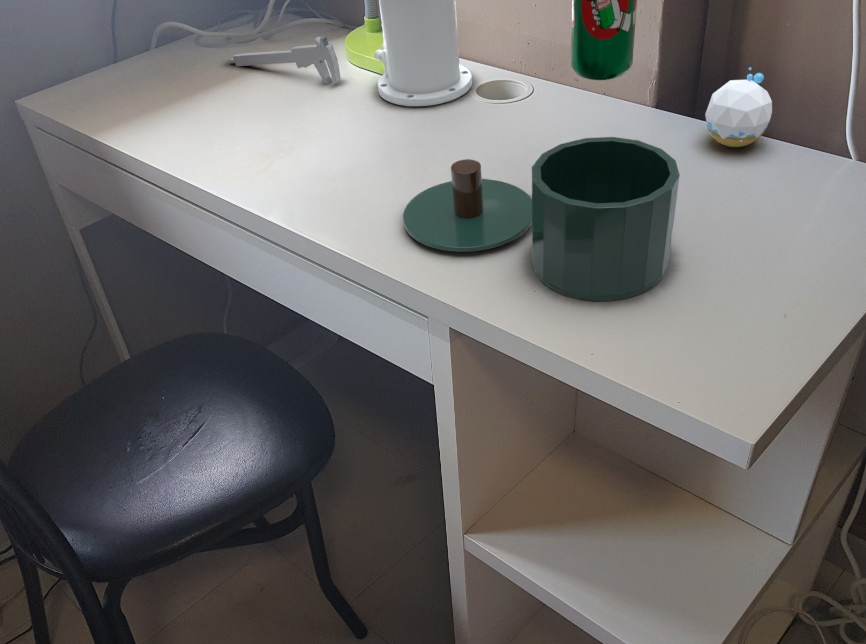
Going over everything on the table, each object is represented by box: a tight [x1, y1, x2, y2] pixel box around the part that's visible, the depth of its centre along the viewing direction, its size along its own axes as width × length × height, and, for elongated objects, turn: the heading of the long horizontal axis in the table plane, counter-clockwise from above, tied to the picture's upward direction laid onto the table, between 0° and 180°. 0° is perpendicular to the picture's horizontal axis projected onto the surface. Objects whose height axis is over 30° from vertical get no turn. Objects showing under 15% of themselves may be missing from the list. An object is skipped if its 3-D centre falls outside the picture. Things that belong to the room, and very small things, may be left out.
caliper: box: [228, 35, 341, 85], centre depth 118 cm, size 20×1×6 cm, turn 58°
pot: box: [531, 136, 680, 302], centre depth 77 cm, size 13×13×10 cm
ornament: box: [704, 66, 773, 148], centre depth 92 cm, size 7×7×8 cm
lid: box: [402, 158, 532, 253], centre depth 85 cm, size 14×14×6 cm
